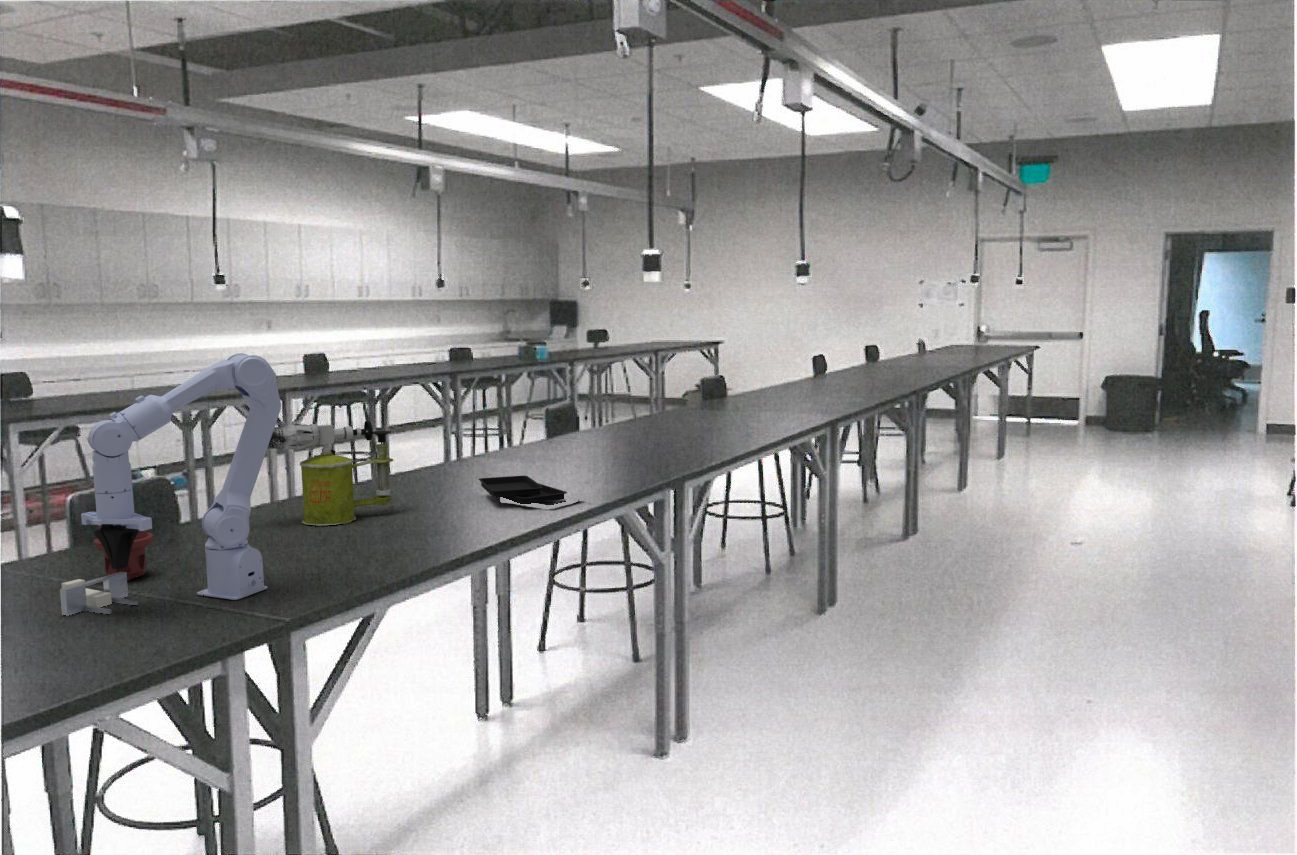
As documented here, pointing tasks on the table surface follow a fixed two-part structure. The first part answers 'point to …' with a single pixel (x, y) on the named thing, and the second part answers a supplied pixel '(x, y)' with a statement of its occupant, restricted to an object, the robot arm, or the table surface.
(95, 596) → the cream l-shaped block
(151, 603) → the table surface
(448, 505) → the table surface
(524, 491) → the tray
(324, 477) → the blowtorch
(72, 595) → the housing
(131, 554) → the mechanical component
